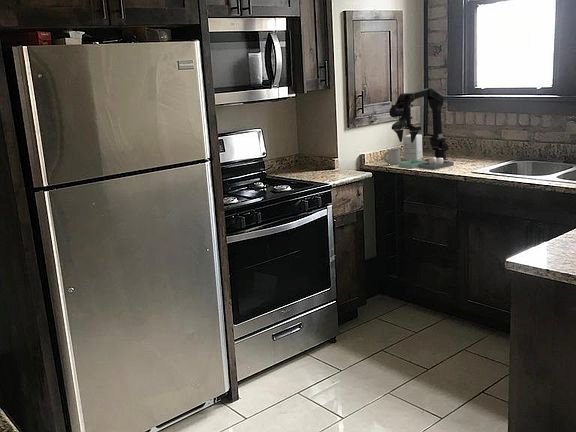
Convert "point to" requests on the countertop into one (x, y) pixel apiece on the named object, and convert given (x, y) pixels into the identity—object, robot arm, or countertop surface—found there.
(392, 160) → the cup
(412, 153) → the supplement box
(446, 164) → the grey tray
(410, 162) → the green bin
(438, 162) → the near stone
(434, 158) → the far stone
